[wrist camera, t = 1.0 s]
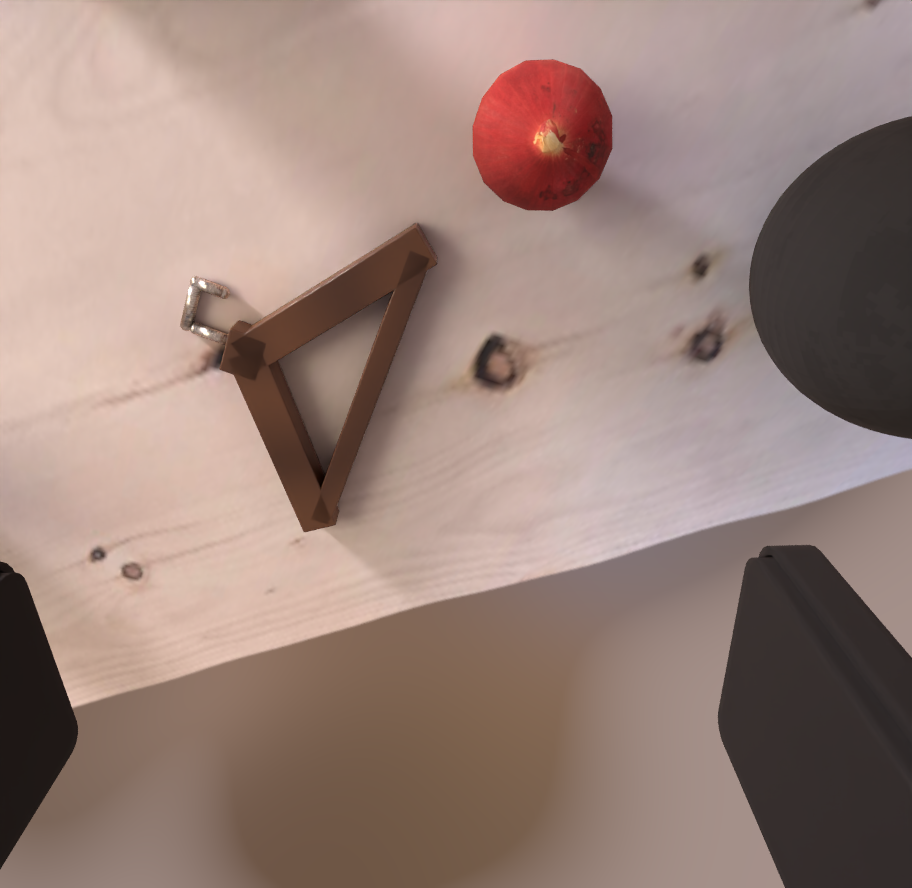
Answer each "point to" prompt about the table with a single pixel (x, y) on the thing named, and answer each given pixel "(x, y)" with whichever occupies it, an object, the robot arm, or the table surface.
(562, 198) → the onion
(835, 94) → the table surface
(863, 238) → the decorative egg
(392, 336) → the hanger
